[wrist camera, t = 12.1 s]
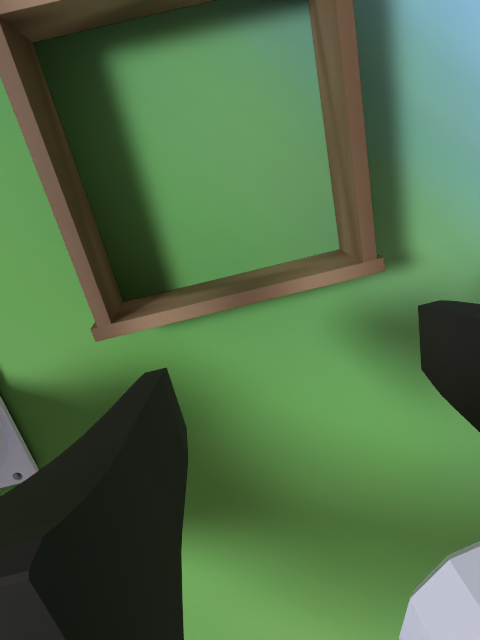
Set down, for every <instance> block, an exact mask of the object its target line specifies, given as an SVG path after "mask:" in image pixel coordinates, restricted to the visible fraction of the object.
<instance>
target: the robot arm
mask: <svg viewBox="0 0 480 640" xmlns="http://www.w3.org/2000/svg"><path fill="white" fill-rule="evenodd" d="M418 315H419V332H420V350H421V368H422V370H423V372H424V373H425V375H426V376H427V377H428V379H429V380H430V381H431V383H432V384H433V385H434V386H435V388H436V389H437V390H438V391H439V393H440V394H441V395H442V396H443V397H444V398H445V399H446V400H447V401H448V402H449V403H450V404H451V405H452V406H453V407H454V408H455V409H456V410H457V411H458V412H459V413H460V414H461V415H462V416H463V417H464V418H465V419H466V420H467V421H468V422H470V423H471V424H472V425H473V426H474V427H475V428H476V429H477V430H478V431H479V432H480V304H474V303H467V302H458V301H436V302H431V303H427V304H423V305H419V306H418ZM187 467H188V446H187V431H186V425H185V422H184V419H183V416H182V413H181V410H180V407H179V404H178V401H177V398H176V395H175V392H174V389H173V386H172V383H171V380H170V377H169V374H168V371H167V368H163V369H159V370H155V371H151V372H147V373H144V374H143V375H142V376H141V377H140V378H139V379H138V380H137V381H136V382H135V383H134V384H133V385H132V386H131V387H130V388H129V389H128V391H127V392H126V393H125V394H124V395H123V396H122V397H121V398H120V399H119V400H118V401H117V402H116V403H115V404H114V405H113V407H112V408H111V409H110V410H109V411H108V412H107V413H106V414H105V415H104V416H103V417H102V418H101V419H100V420H99V421H97V422H96V423H95V424H94V425H93V426H92V427H91V428H90V429H89V430H88V431H87V432H86V433H85V434H84V435H83V436H82V437H81V438H80V439H78V440H77V441H76V442H75V443H74V444H73V445H71V446H70V447H69V448H68V449H67V450H65V451H64V452H63V453H62V454H60V455H59V456H58V457H57V458H55V459H54V460H53V461H52V462H50V463H49V464H48V465H46V466H45V467H43V468H42V469H40V470H39V471H38V467H37V465H36V463H35V461H34V460H33V458H32V456H31V454H30V452H29V450H28V448H27V446H26V444H25V442H24V440H23V438H22V437H21V435H20V433H19V431H18V429H17V427H16V425H15V423H14V421H13V419H12V417H11V416H10V414H9V412H8V410H7V408H6V406H5V404H4V402H3V400H2V398H1V396H0V488H3V487H7V486H11V485H15V484H19V483H20V484H19V485H17V486H16V487H15V488H13V489H12V490H10V491H9V492H7V493H5V494H4V495H2V496H1V497H0V640H184V634H183V605H182V565H181V545H182V527H183V516H184V504H185V492H186V480H187ZM17 473H20V474H22V475H18V474H17ZM399 640H480V541H478V542H475V543H473V544H471V545H469V546H467V547H464V548H462V549H460V550H458V551H455V552H453V553H451V554H449V555H447V556H446V557H445V558H444V559H443V560H442V561H441V562H440V563H439V564H438V565H437V566H436V567H435V568H434V569H433V570H432V571H431V572H430V573H429V574H428V575H427V576H426V577H425V578H424V579H423V580H422V581H421V582H420V583H419V584H418V585H417V586H416V587H415V588H414V590H413V592H412V595H411V597H410V600H409V604H408V607H407V611H406V615H405V618H404V622H403V625H402V629H401V633H400V636H399Z"/></svg>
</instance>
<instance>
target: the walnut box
mask: <svg viewBox="0 0 480 640" xmlns="http://www.w3.org/2000/svg"><path fill="white" fill-rule="evenodd" d="M209 1H213V0H0V77H1V79H2V82H3V84H4V87H5V90H6V92H7V95H8V97H9V100H10V102H11V105H12V108H13V110H14V113H15V115H16V118H17V121H18V123H19V126H20V128H21V131H22V133H23V136H24V139H25V141H26V144H27V146H28V149H29V152H30V154H31V157H32V159H33V162H34V165H35V167H36V170H37V172H38V175H39V177H40V180H41V183H42V185H43V188H44V190H45V193H46V196H47V198H48V201H49V203H50V206H51V209H52V211H53V214H54V216H55V219H56V221H57V224H58V227H59V229H60V232H61V234H62V237H63V240H64V242H65V245H66V247H67V250H68V253H69V255H70V258H71V260H72V263H73V265H74V268H75V271H76V273H77V276H78V278H79V281H80V284H81V286H82V289H83V291H84V294H85V297H86V299H87V302H88V304H89V307H90V309H91V312H92V315H93V317H94V320H95V323H94V325H93V326H92V328H91V332H92V334H93V337H94V339H95V342H97V341H101V340H105V339H109V338H113V337H117V336H121V335H126V334H130V333H134V332H138V331H142V330H146V329H150V328H154V327H158V326H162V325H167V324H171V323H175V322H179V321H183V320H187V319H191V318H195V317H199V316H203V315H207V314H212V313H216V312H220V311H224V310H228V309H232V308H236V307H240V306H244V305H248V304H253V303H257V302H261V301H265V300H269V299H273V298H277V297H281V296H285V295H289V294H294V293H298V292H302V291H306V290H310V289H314V288H318V287H322V286H326V285H330V284H334V283H339V282H343V281H347V280H351V279H355V278H359V277H363V276H367V275H371V274H375V273H380V272H384V271H385V265H384V258H383V257H381V256H379V255H377V253H376V243H375V232H374V221H373V210H372V200H371V189H370V178H369V167H368V157H367V146H366V135H365V124H364V114H363V103H362V92H361V81H360V71H359V60H358V49H357V39H356V28H355V17H354V6H353V0H308V3H309V11H310V19H311V26H312V34H313V42H314V50H315V58H316V66H317V73H318V81H319V89H320V97H321V105H322V113H323V121H324V128H325V136H326V144H327V152H328V160H329V168H330V175H331V183H332V191H333V199H334V207H335V215H336V222H337V230H338V238H339V246H340V250H336V251H332V252H327V253H323V254H319V255H315V256H311V257H307V258H303V259H299V260H295V261H290V262H286V263H282V264H278V265H274V266H270V267H266V268H262V269H257V270H253V271H249V272H245V273H241V274H237V275H233V276H229V277H225V278H220V279H216V280H212V281H208V282H204V283H200V284H196V285H192V286H187V287H183V288H179V289H175V290H171V291H167V292H163V293H159V294H155V295H150V296H146V297H142V298H138V299H134V300H130V301H126V302H123V299H122V296H121V293H120V290H119V288H118V285H117V282H116V279H115V276H114V273H113V271H112V268H111V265H110V262H109V259H108V256H107V253H106V251H105V248H104V245H103V242H102V239H101V236H100V233H99V231H98V228H97V225H96V222H95V219H94V216H93V213H92V211H91V208H90V205H89V202H88V199H87V196H86V193H85V191H84V188H83V185H82V182H81V179H80V176H79V174H78V171H77V168H76V165H75V162H74V159H73V156H72V154H71V151H70V148H69V145H68V142H67V139H66V136H65V134H64V131H63V128H62V125H61V122H60V119H59V116H58V114H57V111H56V108H55V105H54V102H53V99H52V96H51V94H50V91H49V88H48V85H47V82H46V79H45V77H44V74H43V71H42V68H41V65H40V62H39V59H38V57H37V54H36V51H35V48H34V45H33V42H37V41H41V40H45V39H50V38H54V37H58V36H63V35H67V34H71V33H76V32H80V31H84V30H88V29H93V28H97V27H101V26H106V25H110V24H114V23H119V22H123V21H127V20H132V19H136V18H140V17H144V16H149V15H153V14H157V13H162V12H166V11H170V10H175V9H179V8H183V7H188V6H192V5H196V4H200V3H205V2H209Z"/></svg>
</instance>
